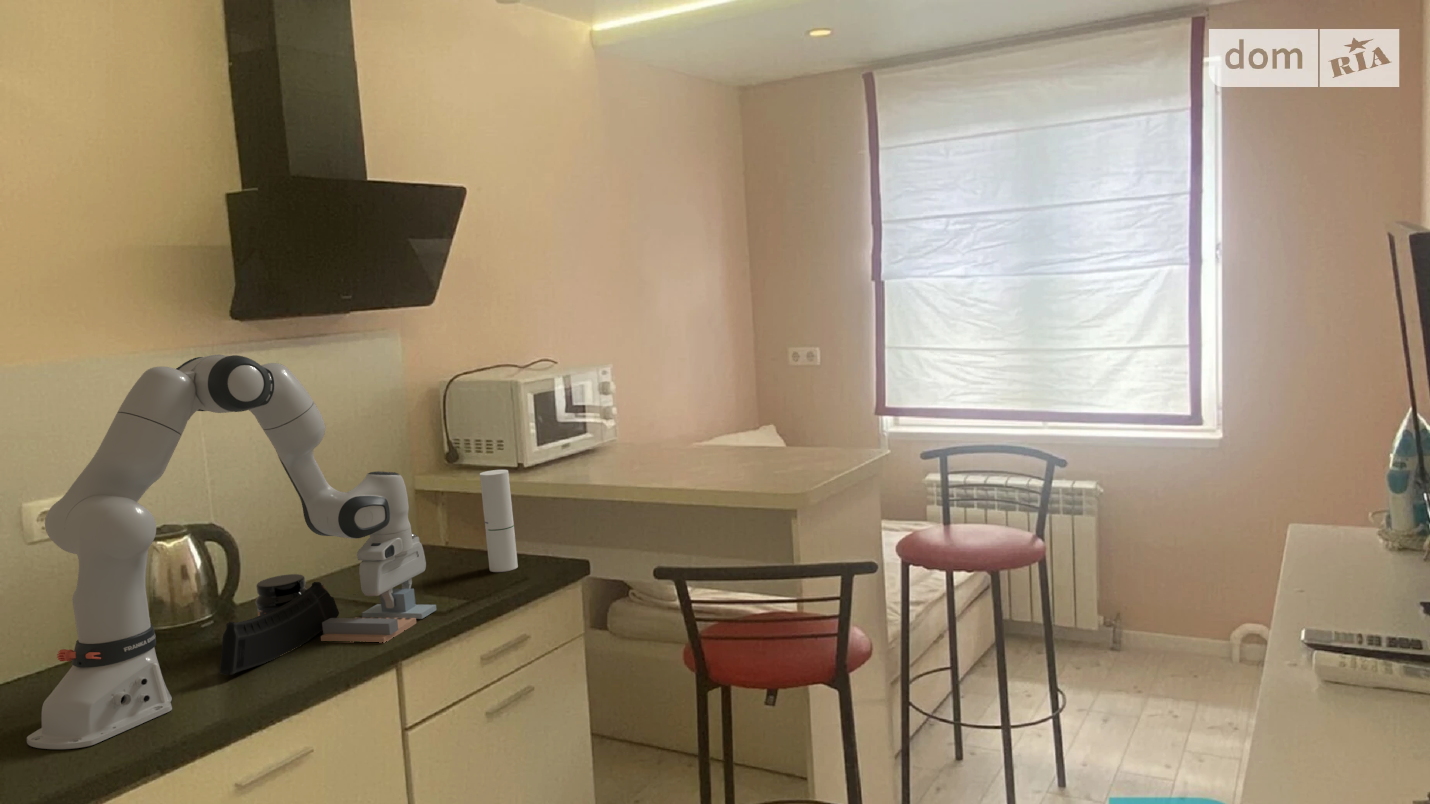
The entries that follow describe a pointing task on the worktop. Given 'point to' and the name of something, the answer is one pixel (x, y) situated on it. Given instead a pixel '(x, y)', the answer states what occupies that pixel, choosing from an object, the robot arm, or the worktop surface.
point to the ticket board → (371, 637)
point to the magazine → (276, 630)
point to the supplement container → (278, 591)
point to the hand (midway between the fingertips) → (398, 603)
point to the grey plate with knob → (400, 607)
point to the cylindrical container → (498, 520)
